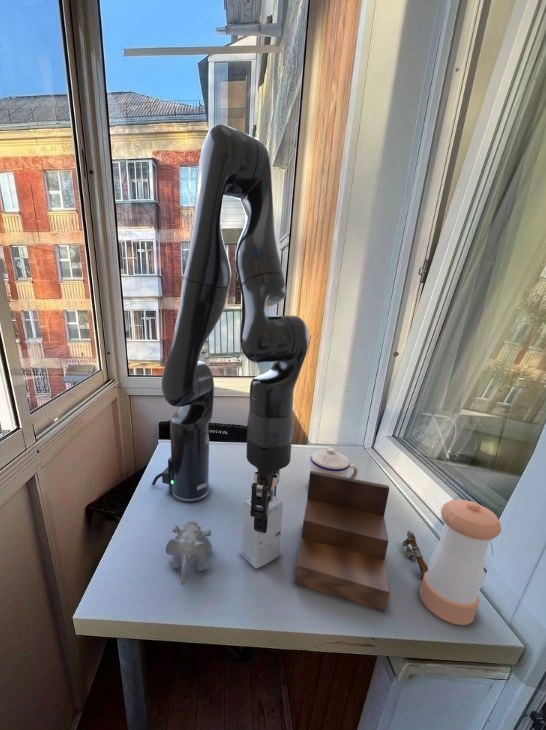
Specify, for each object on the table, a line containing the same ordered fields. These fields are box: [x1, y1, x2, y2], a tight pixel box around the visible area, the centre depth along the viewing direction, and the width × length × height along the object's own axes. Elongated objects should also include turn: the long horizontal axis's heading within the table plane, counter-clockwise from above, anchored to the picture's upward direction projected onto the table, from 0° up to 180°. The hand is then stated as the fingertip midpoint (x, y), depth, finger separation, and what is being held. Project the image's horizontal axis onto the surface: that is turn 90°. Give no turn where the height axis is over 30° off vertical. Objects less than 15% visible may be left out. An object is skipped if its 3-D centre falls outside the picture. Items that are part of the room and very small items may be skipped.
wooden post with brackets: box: [401, 530, 429, 579], centre depth 62 cm, size 2×8×4 cm, turn 177°
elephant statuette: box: [165, 520, 213, 586], centre depth 60 cm, size 9×12×8 cm
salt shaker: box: [419, 499, 502, 626], centre depth 51 cm, size 7×7×19 cm
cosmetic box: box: [241, 493, 284, 569], centre depth 62 cm, size 6×4×12 cm
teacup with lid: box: [307, 447, 359, 486], centre depth 82 cm, size 12×9×12 cm
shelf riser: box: [294, 470, 391, 612], centre depth 60 cm, size 14×15×14 cm
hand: (265, 515), depth 61 cm, fingers open, 8 cm apart
